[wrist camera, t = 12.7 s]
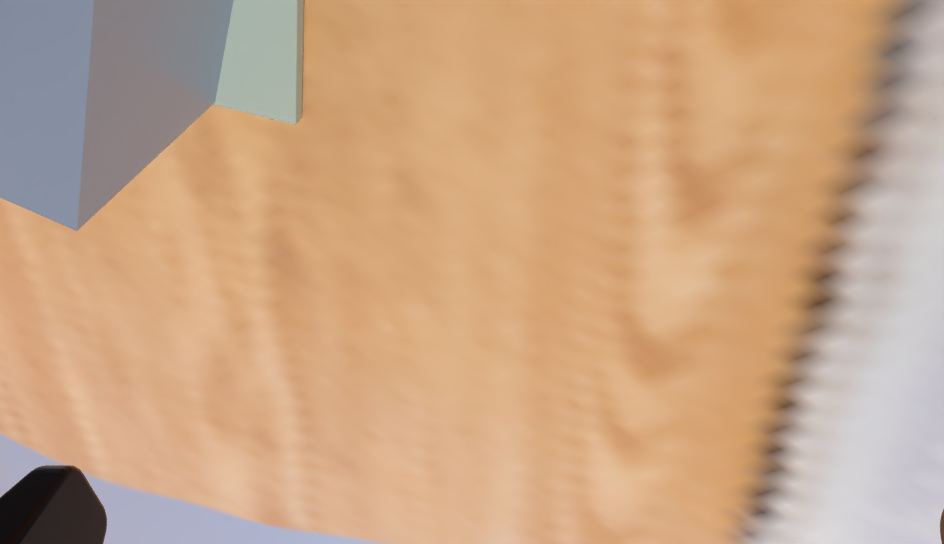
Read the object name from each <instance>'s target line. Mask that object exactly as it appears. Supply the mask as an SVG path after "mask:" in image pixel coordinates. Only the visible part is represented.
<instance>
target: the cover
mask: <svg viewBox="0 0 944 544" xmlns="http://www.w3.org/2000/svg"><path fill="white" fill-rule="evenodd" d="M233 1H234V0H0V197H1V198H3V199H5V200H7V201H10V202H12V203H14V204H17V205H19V206H21V207H23V208H26V209H28V210H30V211H33V212H35V213H37V214H39V215H42V216H44V217H46V218H49V219H51V220H53V221H55V222H58V223H60V224H62V225H65V226H67V227H69V228H71V229H74V230H76V231H77V230H78V229H80V228H81V227H82V226H83V225H84V224H85V223H86V222H87V221H88V220H89V219H90V218H91V217H92V216H93V215H95V214H96V213H97V212H98V211H99V210H100V209H101V208H102V207H103V206H104V205H105V204H106V203H107V202H108V201H110V200H111V199H112V198H113V197H114V196H115V195H116V194H117V193H118V192H119V191H120V190H121V189H122V188H123V187H125V186H126V185H127V184H128V183H129V182H130V181H131V180H132V179H133V178H134V177H135V176H136V175H137V174H138V173H140V172H141V171H142V170H143V169H144V168H145V167H146V166H147V165H148V164H149V163H150V162H151V161H152V160H153V159H155V158H156V157H157V156H158V155H159V154H160V153H161V152H162V151H163V150H164V149H165V148H166V147H167V146H168V145H170V144H171V143H172V142H173V141H174V140H175V139H176V138H177V137H178V136H179V135H180V134H181V133H182V132H183V131H185V130H186V129H187V128H188V127H189V126H190V125H191V124H192V123H193V122H194V121H195V120H196V119H197V118H198V117H200V116H201V115H202V114H203V113H204V112H205V111H206V110H207V109H208V108H209V107H210V106H211V105H212V104H213V103H215V100H216V94H217V89H218V83H219V78H220V72H221V67H222V61H223V56H224V50H225V45H226V39H227V34H228V28H229V23H230V17H231V12H232V6H233Z"/></svg>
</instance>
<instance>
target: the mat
mask: <svg viewBox="0 0 944 544" xmlns="http://www.w3.org/2000/svg"><path fill="white" fill-rule="evenodd" d="M303 26H304V0H234V1H233V6H232V12H231V17H230V23H229V28H228V34H227V39H226V45H225V50H224V56H223V61H222V67H221V72H220V78H219V83H218V89H217V94H216V100H215V103H213V105H217V106H221V107H225V108H229V109H233V110H237V111H241V112H246V113H250V114H254V115H258V116H262V117H266V118H270V119H274V120H278V121H282V122H287V123H291V124H295V125H296V124H297V123H298V122H299V120H300V119H301V118H302V81H303Z"/></svg>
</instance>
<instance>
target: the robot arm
mask: <svg viewBox="0 0 944 544" xmlns="http://www.w3.org/2000/svg"><path fill="white" fill-rule="evenodd" d="M106 526H107V518H106V513H105V509H104V507H103V505H102V504H101V502H100V500H99V499H98V497H97V495H96V494H95V492H94V491H93V489H92V487H91V486H90V484H89V483H88V481H87V479H86V478H85V476H84V474H83V473H82V472H81V470H80V469H78V468H76V467H75V466H42V467H38V468H36V469H34V470H33V471H31V472H30V473H29V474H27V475H26V476H25V477H24V478H23V479H22V480H20V481H19V482H18V483H17V484H16V485H15V486H14V487H12V488H11V489H10V490H9V491H7V492H6V493H5V494H4V495H3V496H2V497H1V498H0V544H103V542H104V537H105V533H106ZM940 533H941V541H942V544H944V510H943V512H942V516H941V522H940Z"/></svg>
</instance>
